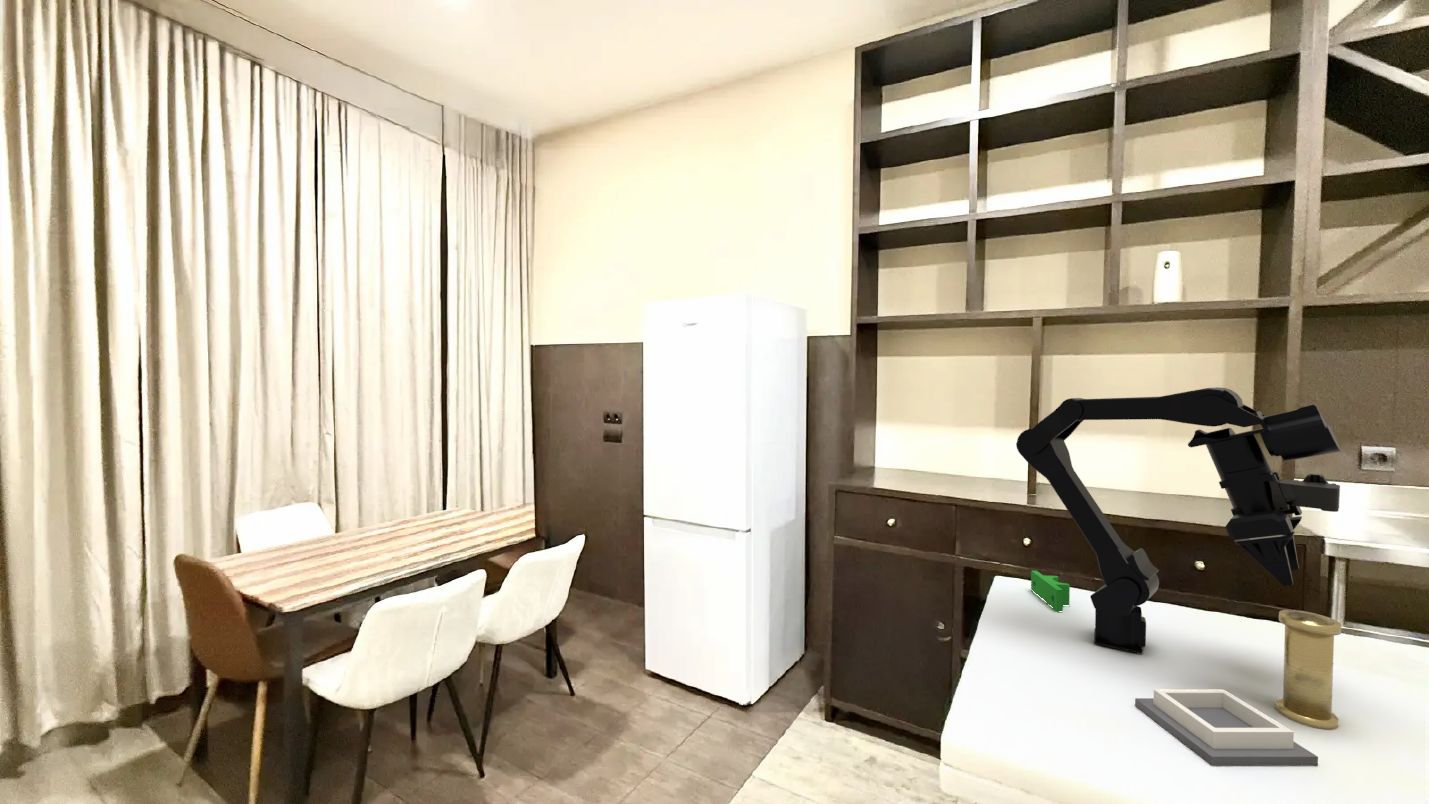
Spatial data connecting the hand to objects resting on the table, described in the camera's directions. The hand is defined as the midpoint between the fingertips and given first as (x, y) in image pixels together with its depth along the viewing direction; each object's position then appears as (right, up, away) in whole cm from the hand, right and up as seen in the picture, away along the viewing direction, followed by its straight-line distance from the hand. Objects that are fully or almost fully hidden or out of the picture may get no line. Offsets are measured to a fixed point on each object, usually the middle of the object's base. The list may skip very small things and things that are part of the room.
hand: (1291, 577), depth 80 cm
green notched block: (-13, -16, +34) cm, 40 cm away
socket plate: (-18, -17, -9) cm, 26 cm away
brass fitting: (-4, -17, -5) cm, 18 cm away
